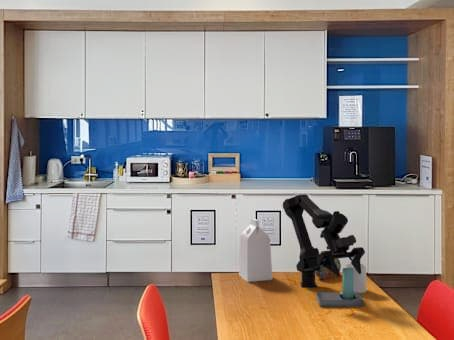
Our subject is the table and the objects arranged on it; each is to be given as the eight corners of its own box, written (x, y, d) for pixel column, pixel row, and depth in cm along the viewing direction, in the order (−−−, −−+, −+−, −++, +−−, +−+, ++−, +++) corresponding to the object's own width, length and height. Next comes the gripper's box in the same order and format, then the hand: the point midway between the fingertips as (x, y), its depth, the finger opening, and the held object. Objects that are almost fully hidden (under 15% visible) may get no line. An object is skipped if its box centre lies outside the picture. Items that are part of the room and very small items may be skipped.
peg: (341, 304, 218) (340, 269, 217) (344, 301, 222) (344, 267, 221) (351, 305, 216) (351, 270, 215) (355, 302, 219) (355, 268, 219)
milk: (272, 279, 256) (271, 220, 254) (247, 281, 253) (246, 222, 251) (263, 273, 267) (262, 216, 266) (238, 275, 264) (238, 218, 262)
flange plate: (316, 298, 225) (316, 292, 225) (358, 298, 225) (358, 291, 224) (319, 306, 215) (319, 299, 215) (363, 306, 215) (363, 299, 214)
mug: (368, 293, 232) (368, 267, 231) (348, 293, 231) (348, 267, 231) (360, 285, 244) (360, 260, 243) (341, 285, 244) (341, 261, 243)
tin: (319, 280, 253) (319, 261, 252) (314, 279, 255) (313, 260, 254) (341, 274, 263) (341, 256, 262) (335, 273, 265) (335, 255, 264)
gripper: (320, 230, 217) (337, 265, 208) (362, 226, 224) (380, 260, 215) (309, 247, 225) (325, 282, 215) (350, 243, 232) (367, 276, 223)
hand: (350, 275), depth 217 cm, fingers open, 9 cm apart
